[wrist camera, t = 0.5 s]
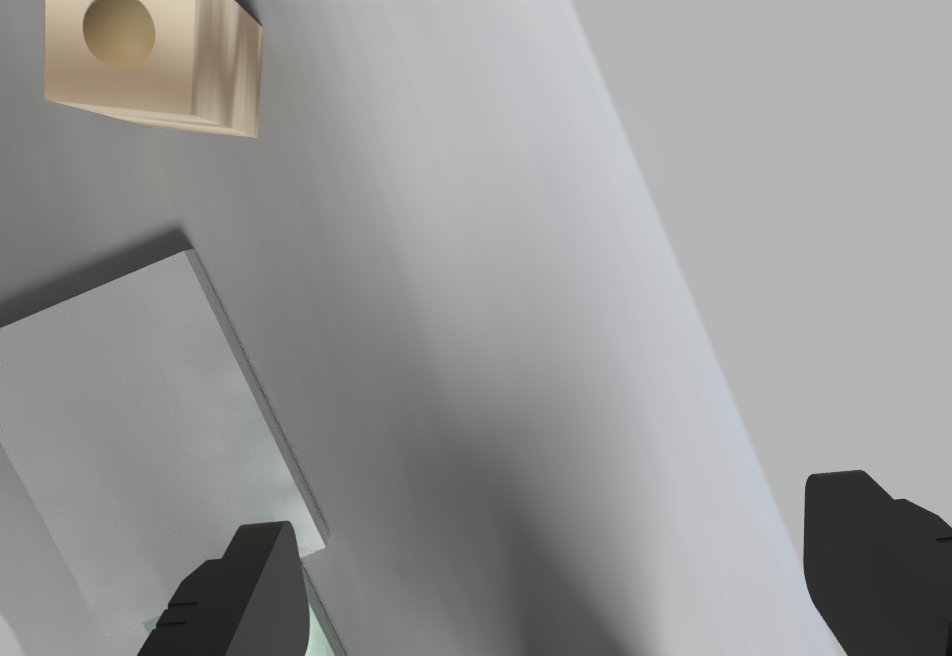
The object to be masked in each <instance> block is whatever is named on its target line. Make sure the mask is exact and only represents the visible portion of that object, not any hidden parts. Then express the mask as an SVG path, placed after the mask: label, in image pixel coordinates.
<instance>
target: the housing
mask: <svg viewBox="0 0 952 656" xmlns="http://www.w3.org/2000/svg"><path fill="white" fill-rule="evenodd" d="M262 40H263V28H262V27H261V26H260V25H259V24H258V23H257V22H256V21H255V20H254V19H253V18H252V17H251V16H250V15H249V14H248V13H247V12H246V11H245V10H244V9H243V8H242V7H241V6H240V5H239V4H238V3H237V2H236V1H235V0H46V3H45V96H44V99H46V100H50V101H54V102H57V103H61V104H65V105H69V106H73V107H77V108H80V109H84V110H88V111H92V112H96V113H100V114H103V115H107V116H111V117H115V118H119V119H123V120H126V121H130V122H134V123H138V124H142V125H146V126H149V127H158V128H168V129H177V130H187V131H197V132H207V133H217V134H227V135H237V136H247V137H258V118H259V98H260V79H261V60H262Z"/></svg>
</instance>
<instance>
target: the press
mask: <svg viewBox="0 0 952 656" xmlns="http://www.w3.org/2000/svg"><path fill="white" fill-rule="evenodd" d="M0 443H1V444H2V446H3V448H4V450H5V452H6V454H7V456H8V457H9V459H10V461H11V463H12V465H13V467H14V468H15V470H16V472H17V474H18V476H19V478H20V479H21V481H22V483H23V485H24V487H25V489H26V491H27V492H28V494H29V496H30V498H31V500H32V502H33V503H34V505H35V507H36V509H37V511H38V513H39V514H40V516H41V518H42V520H43V522H44V524H45V526H46V527H47V529H48V531H49V533H50V535H51V537H52V538H53V540H54V542H55V544H56V546H57V548H58V549H59V551H60V553H61V555H62V557H63V559H64V560H65V562H66V564H67V566H68V568H69V570H70V572H71V573H72V575H73V577H74V579H75V581H76V583H77V584H78V586H79V588H80V590H81V592H82V594H83V595H84V597H85V599H86V601H87V603H88V605H89V607H90V608H91V610H92V612H93V614H94V616H95V618H96V619H97V621H98V623H99V625H100V627H101V629H102V630H103V632H104V634H105V636H106V638H107V637H109V636H112V635H114V634H117V633H119V632H122V631H124V630H126V629H129V628H131V627H134V626H136V625H139V624H141V623H143V624H144V626H145V628H146V630H147V632H148V633H149V635H150V633H151V631H152V630H153V629H156V623H157V621H158V620H159V618H160V616H161V615H162V613H163V611H164V610H165V609H168V603H169V601H170V600H171V598H172V596H173V595H174V593H175V591H176V590H177V588H178V586H179V585H180V583H181V581H182V580H184V579H185V578H186V577H187V576H188V575H190V574H191V573H192V572H193V571H194V570H195V569H197V568H198V567H199V566H200V565H201V564H203V563H204V562H205V561H206V560H210V559H221V558H222V557H223V555H224V553H225V551H226V549H227V547H228V546H229V544H230V542H231V540H232V538H233V536H234V534H235V533H236V531H237V529H238V528H239V526H240V525H243V524H254V523H265V522H276V521H287V520H288V521H290V522H291V524H292V526H293V528H294V531H295V535H296V540H297V546H298V551H299V556H300V558H301V557H304V556H306V555H309V554H311V553H314V552H316V551H318V550H321V549H323V548H326V546H327V543H328V540H329V537H330V533H329V531H328V529H327V527H326V525H325V523H324V521H323V519H322V517H321V515H320V512H319V510H318V508H317V506H316V504H315V502H314V500H313V498H312V496H311V494H310V491H309V489H308V487H307V485H306V483H305V481H304V479H303V477H302V475H301V473H300V470H299V468H298V466H297V464H296V462H295V460H294V458H293V456H292V454H291V452H290V449H289V447H288V445H287V443H286V441H285V439H284V437H283V435H282V433H281V431H280V428H279V426H278V424H277V422H276V420H275V418H274V416H273V414H272V412H271V410H270V407H269V405H268V403H267V401H266V399H265V397H264V395H263V393H262V391H261V389H260V386H259V384H258V382H257V380H256V378H255V376H254V374H253V372H252V370H251V368H250V365H249V363H248V361H247V359H246V357H245V355H244V353H243V351H242V349H241V347H240V344H239V342H238V340H237V338H236V336H235V334H234V332H233V330H232V328H231V326H230V323H229V321H228V319H227V317H226V315H225V313H224V311H223V309H222V307H221V304H220V302H219V300H218V298H217V296H216V294H215V292H214V290H213V288H212V286H211V283H210V281H209V279H208V277H207V275H206V273H205V271H204V269H203V267H202V265H201V262H200V260H199V258H198V256H197V254H196V252H195V250H194V249H190V250H185V251H182V252H180V253H177V254H175V255H172V256H170V257H168V258H165V259H163V260H161V261H158V262H156V263H153V264H151V265H149V266H146V267H144V268H142V269H139V270H137V271H135V272H132V273H130V274H127V275H125V276H123V277H120V278H118V279H116V280H113V281H111V282H108V283H106V284H104V285H101V286H99V287H97V288H94V289H92V290H89V291H87V292H85V293H82V294H80V295H78V296H75V297H73V298H71V299H68V300H66V301H63V302H61V303H59V304H56V305H54V306H52V307H49V308H47V309H44V310H42V311H40V312H37V313H35V314H33V315H30V316H28V317H26V318H23V319H21V320H18V321H16V322H14V323H11V324H9V325H7V326H4V327H2V328H0ZM301 567H302V572H303V577H304V583H305V588H306V593H307V599H308V604H309V612H310V635H309V643H308V648H307V651H306V655H305V656H346V654H345V652H344V650H343V648H342V646H341V644H340V642H339V639H338V637H337V635H336V633H335V631H334V629H333V627H332V625H331V623H330V621H329V619H328V617H327V615H326V613H325V611H324V609H323V607H322V604H321V602H320V600H319V598H318V596H317V594H316V592H315V590H314V588H313V586H312V584H311V582H310V580H309V578H308V576H307V574H306V572H305V570H304V567H303V565H302V563H301Z"/></svg>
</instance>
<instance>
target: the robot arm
mask: <svg viewBox="0 0 952 656" xmlns="http://www.w3.org/2000/svg"><path fill="white" fill-rule="evenodd" d="M803 560H804V561H803V562H804V563H803V564H804V574H805V580H806V584H807V588H808V591H809V594H810V597H811V599H812V601H813V603H814V605H815V607H816V608H817V610H818V611H819V613H820V614H821V616H822V617H823V619H824V620H825V622H826V623H827V625H828V627H829V628H830V630H831V631H832V633H833V634H834V635H835V637H836V638H837V640H838V642H839V643H840V645H841V646H842V648H843V649H844V651H845V652H846V654H847V655H848V656H952V528H951V527H950V526H949V525H948V524H947V523H946V522H945V521H943V519H941V518H940V517H939V516H938V515H936V514H934V513H932V512H930V511H928V510H926V509H924V508H922V507H920V506H918V505H916V504H914V503H912V502H910V501H908V500H906V499H897V500H894V499H893V498H892V497H891V496H890V495H889V494H888V493H887V492H886V491H885V490H884V489H883V488H882V487H880V486H879V485H878V484H877V483H876V482H875V481H874V480H873V479H872V478H871V477H870V476H869V475H868V474H867V473H866V472H864V471H862V470H853V471H842V472H831V473H820V474H812V475H810V476H809V477H808V479H807V482H806V486H805V516H804V558H803ZM309 635H310V612H309V604H308V599H307V593H306V588H305V583H304V577H303V572H302V567H301V561H300V556H299V551H298V546H297V540H296V535H295V531H294V528H293V526H292V524H291V522H290V521H288V520H287V521H276V522H265V523H254V524H243V525H240V526H239V528H238V529H237V531H236V533H235V534H234V536H233V538H232V540H231V542H230V544H229V546H228V547H227V549H226V551H225V553H224V555H223V557H222V558H221V559H210V560H206V561H205V562H204V563H203V564H201V565H200V566H199V567H198V568H197V569H195V570H194V571H193V572H192V573H191V574H190V575H188V576H187V577H186V578H185V579H184V580H182V581H181V583H180V585H179V586H178V588H177V590H176V591H175V593H174V595H173V596H172V598H171V600H170V601H169V603H168V609H165V610H164V611H163V613H162V615H161V616H160V618H159V620H158V621H157V623H156V629H153V630H152V631H151V633H150V635H149V636H148V638H147V640H146V641H145V643H144V645H143V646H142V648H141V650H140V651H139V653H138V655H137V656H305V655H306V651H307V648H308V643H309Z"/></svg>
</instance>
